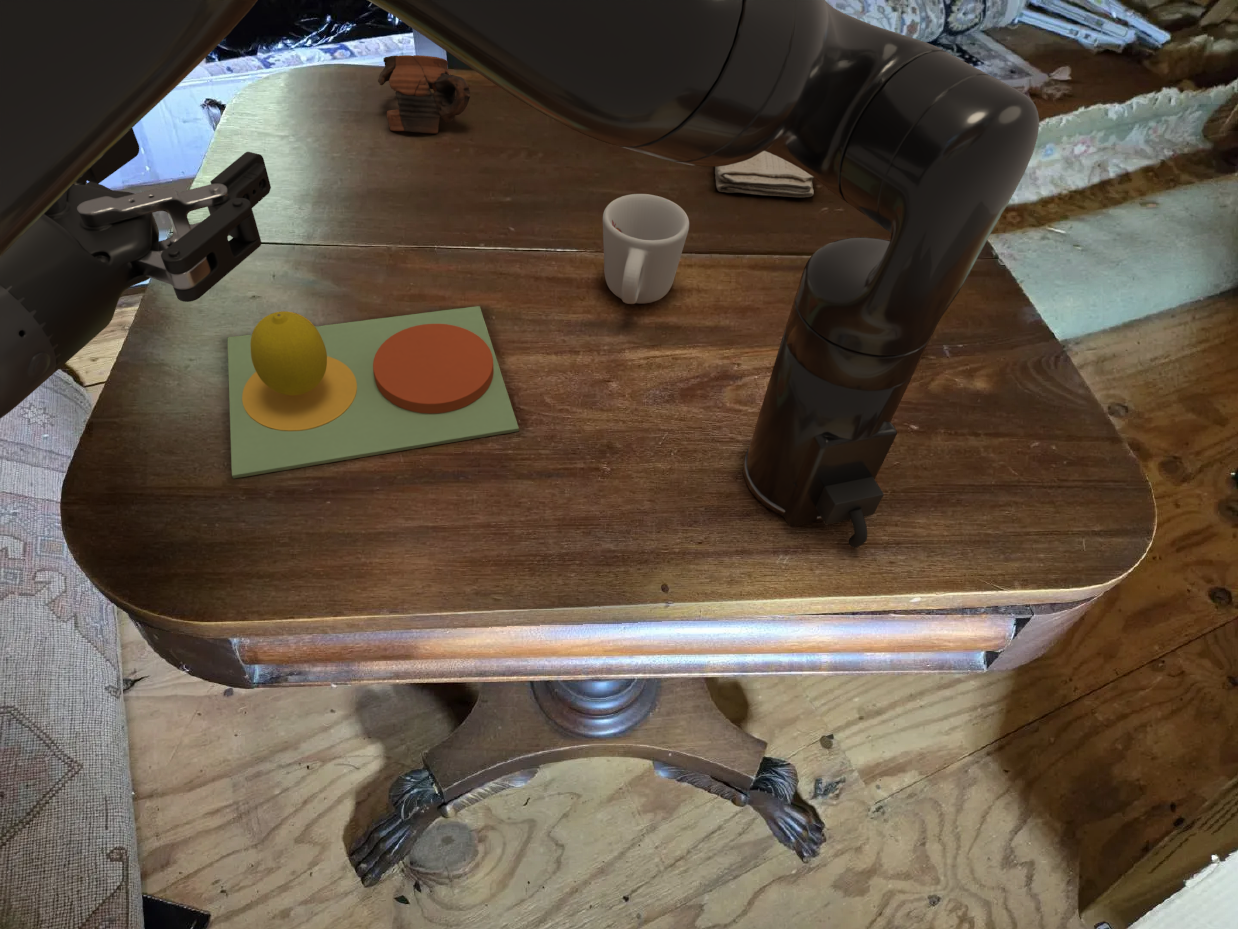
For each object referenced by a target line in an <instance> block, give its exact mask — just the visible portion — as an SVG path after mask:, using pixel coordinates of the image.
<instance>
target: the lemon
mask: <svg viewBox="0 0 1238 929" xmlns="http://www.w3.org/2000/svg"><path fill="white" fill-rule="evenodd" d="M251 335H252V337H251V343H250V347H251V359H252V363H253V366H254V368H255V370H256V372H257V374H258V376H259V377H260V379H261V380H262V381H263V382H264V383H265V384H266V385H267V386H268V387H269V388H270V389H272V390H274V391H276V392H278V393H281V394H285V395H300V394H304V393H307V392H309V391H311V390H312V389H313V388H315V387H316V386H317V385H318V384H319V383H320V381H321V380H322V379H323V376H324V374H325V371H326V367H327V352H326V348H325V345H324V342H323V340H322V337H321V335H320V333H319V332H318V330H317V329H316V327H315V325H314V324H313V323H312V321H310V320H309V319H308V318H307V317H305V316H303V315H301V314H299V313H297V312H294V311H287V310H286V311H285V310H283V311H275V312H272V313H270V314H267V315H266V316H264V317H262V319H261V320H259V321H258V322H257V324H256V325H255V326H254V328H253V330H252V333H251Z"/></svg>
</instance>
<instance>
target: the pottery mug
mask: <svg viewBox="0 0 1238 929" xmlns="http://www.w3.org/2000/svg"><path fill="white" fill-rule="evenodd" d="M383 63H384V68H383V69H382V70H381V71H380V73H379V76H378V79H377V83H378V84H379V86H384V85H385V83H386V82H388V83H389V87H390V89H391V90H393V91H395V92H394V93H395V98H396V101H397V106H398V108H397V109H391V110H390V109H389V110H387V111H386V118H387V121H388V126H389V129H390V131H391V132H412V133H416V134H417V133H418V134H438V133H439V124H440V118H442V120H443V121H444V122H445V123H447V124H449V123H451V122H452V121H453V120H454V119H455V116H460V115H461V114H462V113H463V112H464V111H465V110H466V108H467V106H468V104H469V102H470V98H471V90H470V86H469V85H468V83H467V81H466V80H465V78H463V77H462V76H459V75H455V74H451V73H450V71H449V69H448V66H449V61H448V60H447V59H445V58H442V57H439V56H432V55H431V56H430V55H418V54H413V55H412V54H403V55H398V54H397V55H389V56H385V57H383ZM431 90H433V92H432V91H431Z"/></svg>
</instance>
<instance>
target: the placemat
mask: <svg viewBox="0 0 1238 929" xmlns="http://www.w3.org/2000/svg"><path fill="white" fill-rule="evenodd" d="M314 326H315V325H314ZM315 327H316V329H317V330H318V332H319V333H320V335H321V337H322V340H323V342H324V345H325V348H326V352H327V367H326V371H325V374H324V376H323V379H322V380H321V381H320V383H319V384H318V385H317V386H316V387H315V388H313V389H312V390H311V391H309V392H307V393H304V394H300V395H285V394H281V393H278V392H276V391H274V390H272V389H270V388H269V387H268V386H267V385H266V384H265V383H264V382H263V381H262V380H261V379H260V377H259V376H258V374H257V372H256V370H255V368H254V366H253V363H252V359H251V347H250V343H251V337H252V334H245V335H237V336H229V337H226V338H227V339H226V340H227V344H226V345H227V369H228V370H227V374H228V402H229V404H228V405H229V429H230V431H229V433H230V434H229V435H230V464H231V477H232V479H233V480H234V479H240V478H246V477H251V476H258V475H264V474H269V473H277V472H281V471H288V470H293V469H294V470H295V469H301V468H306V467H313V466H316V465H317V466H318V465H325V464H330V463H335V462H341V461H348V460H355V459H359V458H365V457H373V456H377V455H384V454H390V453H396V452H401V451H409V450H413V449H420V448H421V449H422V448H426V447H432V446H439V445H444V444H449V443H450V444H451V443H457V442H464V441H469V440H475V439H480V438H486V437H493V436H499V435H504V434H510V433H517V432H519V431H520V428H519V424H518V421H517V417H516V415H515V411H514V409H513V405H512V403H511V399H510V396H509V393H508V390H507V387H506V384H505V381H504V380H505V379H504V378H503V374H502V371H501V367H500V365H499V361H498V358H497V355H496V353H495V350H494V346H493V343H492V340H491V337H490V336H491V335H490V334H489V330H488V328H487V324H486V322H485V318H484V314H483V312H482V309H481V305H476V306H469V307H461V308H460V307H459V308H453V309H452V308H451V309H443V310H436V311H429V312H427V311H426V312H421V313H413V314H405V315H404V314H403V315H396V316H387V317H379V318H372V319H365V320H355V321H348V322H340V323H333V324H325V325H316V326H315Z"/></svg>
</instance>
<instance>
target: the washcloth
mask: <svg viewBox="0 0 1238 929" xmlns="http://www.w3.org/2000/svg"><path fill="white" fill-rule="evenodd" d="M714 174H715V177H714V178H715V187H716V190H717V191H718V192H720V193H726V194H734V193H737V194H738V193H739V194H747V195H755V196H756V195H757V196H768V197H769V196H770V197H784V198H785V197H788V198H811V197H813V196H814V191H815V190H814V188H813V187H814V186H813V185H814V184H813V179H816V178H815V177H813V176H811V175H810V174H808V173H807V172H805V171H804V170H802V169H800V168H799V167H797V166H795V165H793V164H792V163H790V162H788V161H786V160H784V159H782V158H780V157H778V156H775V155H773V154H771V153H769V152H766V151H763V152H761V153H759V154H758V155H756V156H754V157H752V158H750V159H748V160H745V161H742V162H739V163H735V164H731V165H726V166H719V167H714Z"/></svg>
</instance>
